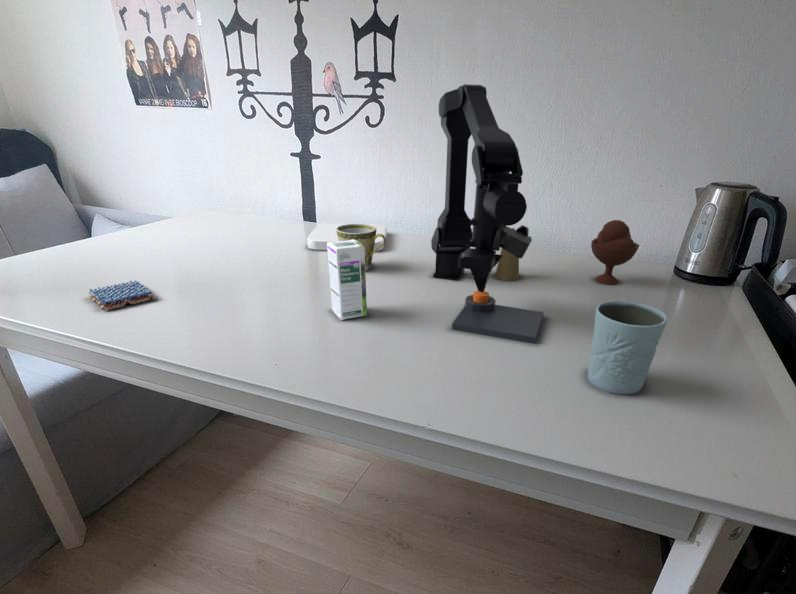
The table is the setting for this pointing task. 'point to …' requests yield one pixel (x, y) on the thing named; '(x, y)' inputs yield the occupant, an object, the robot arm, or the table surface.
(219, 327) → the table surface
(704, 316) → the table surface
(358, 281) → the syrup box
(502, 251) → the cork
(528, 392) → the table surface
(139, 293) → the woven mat
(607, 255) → the ice cream bowl
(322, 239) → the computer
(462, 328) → the dark grey base plate
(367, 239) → the ceramic cup
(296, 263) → the table surface
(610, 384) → the light blue embossed pot
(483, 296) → the button
